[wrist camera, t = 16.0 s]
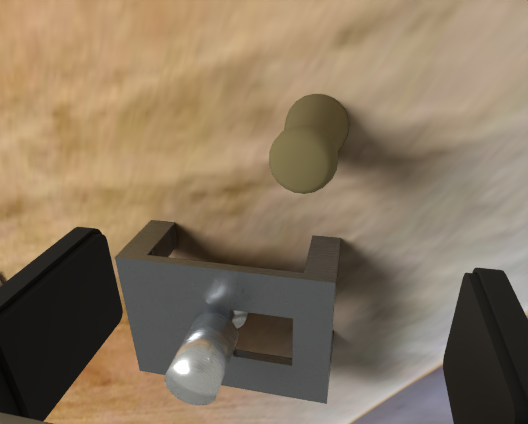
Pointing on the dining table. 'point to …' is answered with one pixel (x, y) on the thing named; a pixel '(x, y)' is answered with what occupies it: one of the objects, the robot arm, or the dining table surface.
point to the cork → (309, 144)
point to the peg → (204, 357)
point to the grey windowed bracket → (231, 310)
